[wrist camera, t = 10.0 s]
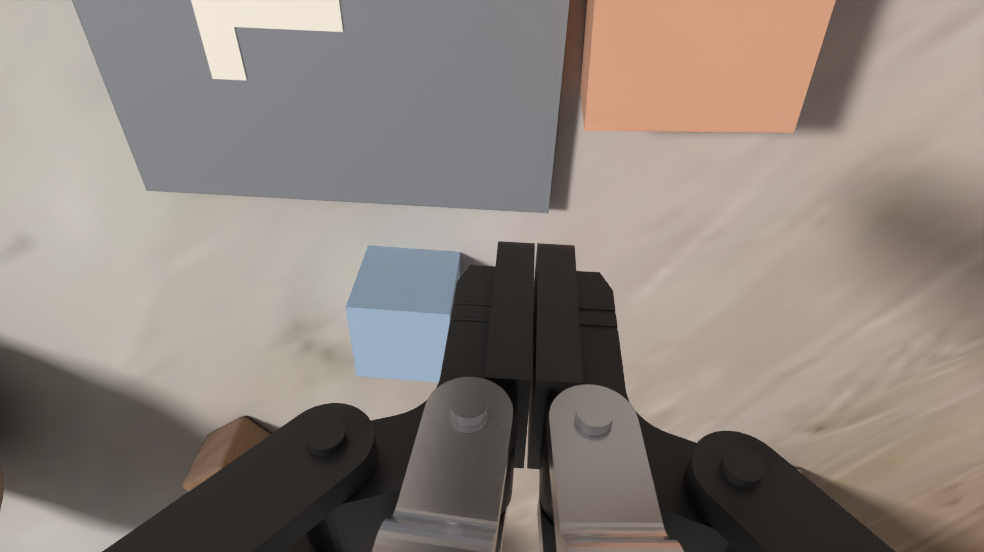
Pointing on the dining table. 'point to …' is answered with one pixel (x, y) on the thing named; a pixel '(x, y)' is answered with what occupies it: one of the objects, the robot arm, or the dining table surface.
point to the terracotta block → (699, 64)
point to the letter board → (338, 97)
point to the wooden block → (223, 449)
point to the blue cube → (402, 312)
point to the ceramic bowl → (1, 486)
